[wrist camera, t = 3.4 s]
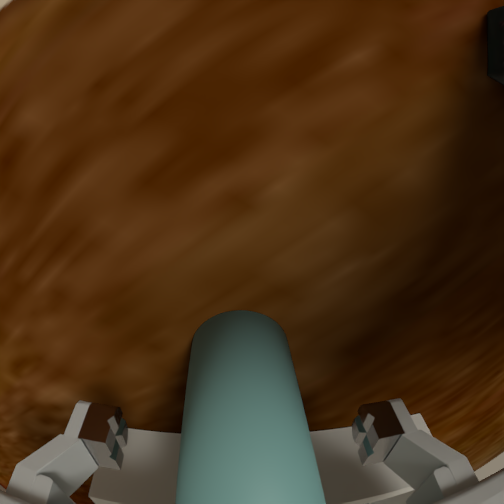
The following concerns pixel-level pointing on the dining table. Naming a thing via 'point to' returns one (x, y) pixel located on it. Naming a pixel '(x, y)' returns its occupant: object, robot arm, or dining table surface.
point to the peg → (244, 418)
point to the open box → (326, 453)
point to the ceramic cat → (496, 44)
